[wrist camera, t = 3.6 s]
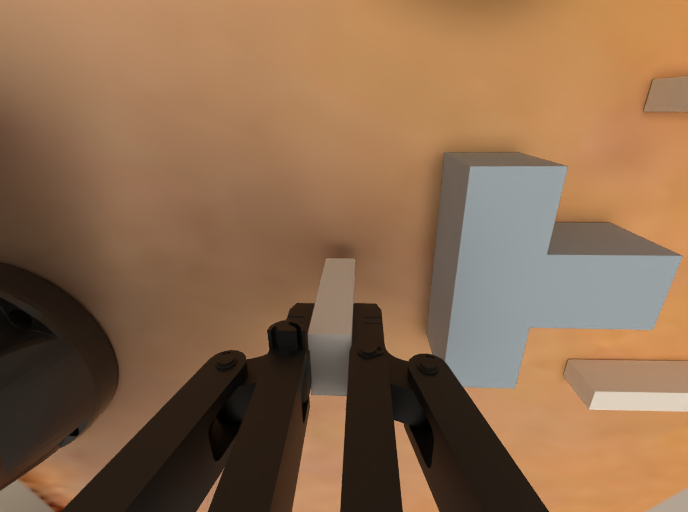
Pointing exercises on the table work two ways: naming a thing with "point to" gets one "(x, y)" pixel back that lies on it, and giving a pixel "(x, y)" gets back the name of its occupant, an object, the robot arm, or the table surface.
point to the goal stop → (637, 375)
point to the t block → (528, 267)
